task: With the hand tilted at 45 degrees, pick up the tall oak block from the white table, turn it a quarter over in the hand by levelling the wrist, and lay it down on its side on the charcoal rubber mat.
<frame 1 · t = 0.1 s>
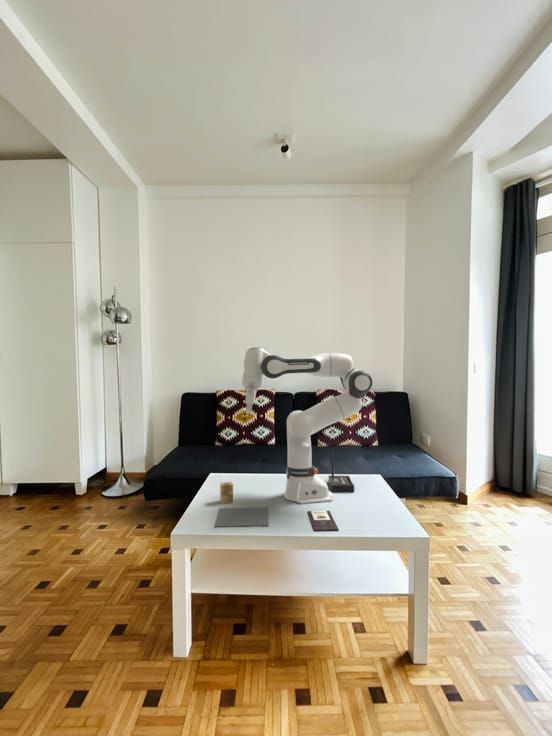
hand: (248, 412, 176), 39 cm above the table, tool pointing down, fingers open, 8 cm apart
charcoal mat: (242, 517, 153), on the table
oak block: (226, 501, 171), on the table
chocolate bar: (322, 522, 150), on the table
wireless controller: (340, 487, 193), on the table
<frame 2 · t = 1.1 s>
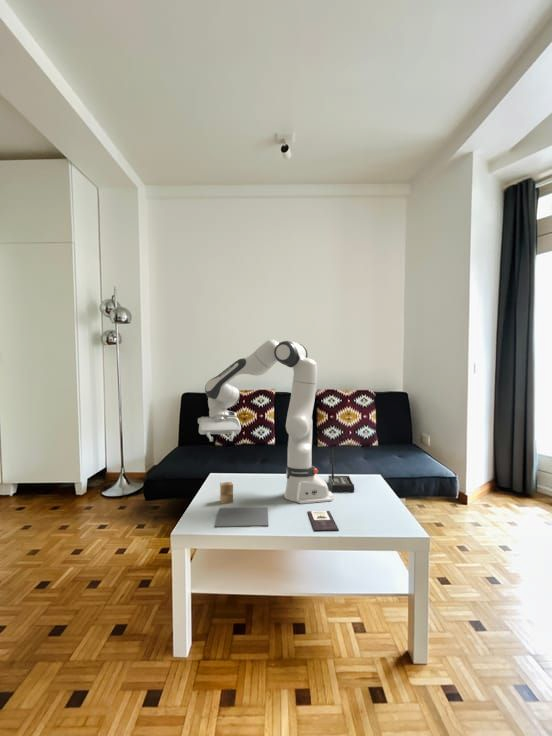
hand: (221, 440, 182), 25 cm above the table, tool tilted 45°, fingers open, 8 cm apart
nothing on the table moved.
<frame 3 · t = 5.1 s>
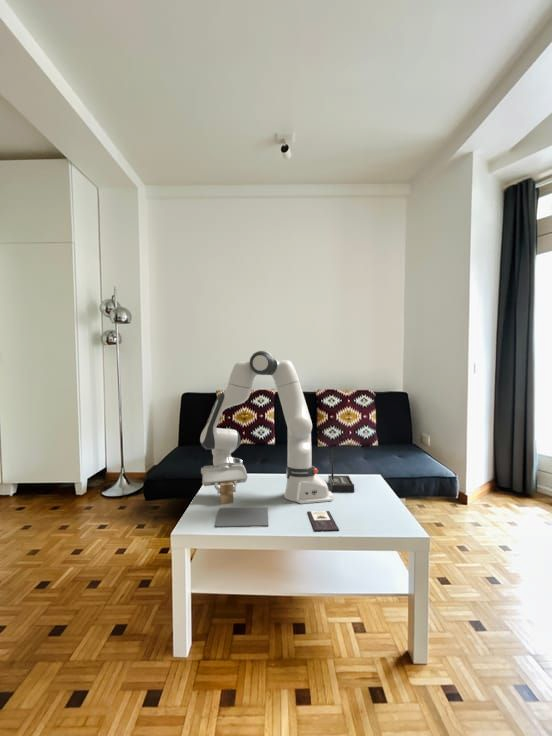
hand: (226, 492, 170), 4 cm above the table, tool tilted 45°, fingers closed on oak block, 5 cm apart
oak block: (226, 501, 171), on the table, touching gripper
everything else where it was.
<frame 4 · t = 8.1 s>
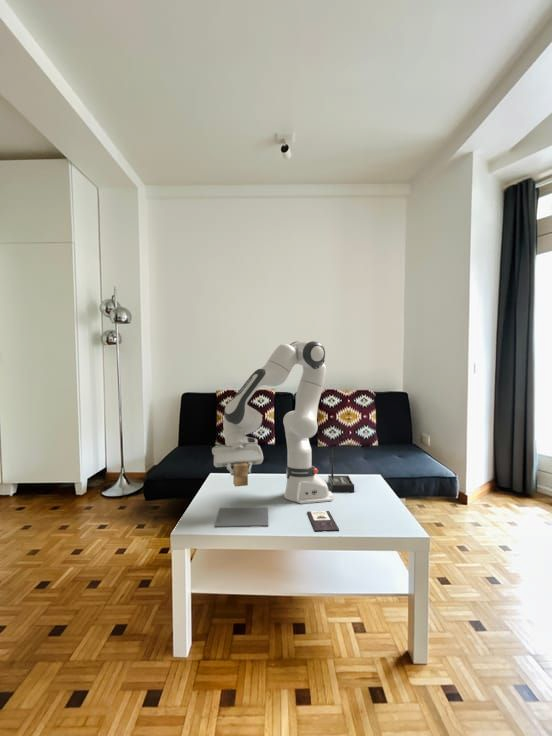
hand: (240, 473, 153), 17 cm above the table, tool tilted 45°, fingers closed on oak block, 5 cm apart
oak block: (240, 484, 154), point 13 cm above the table, touching gripper
everything else where it was.
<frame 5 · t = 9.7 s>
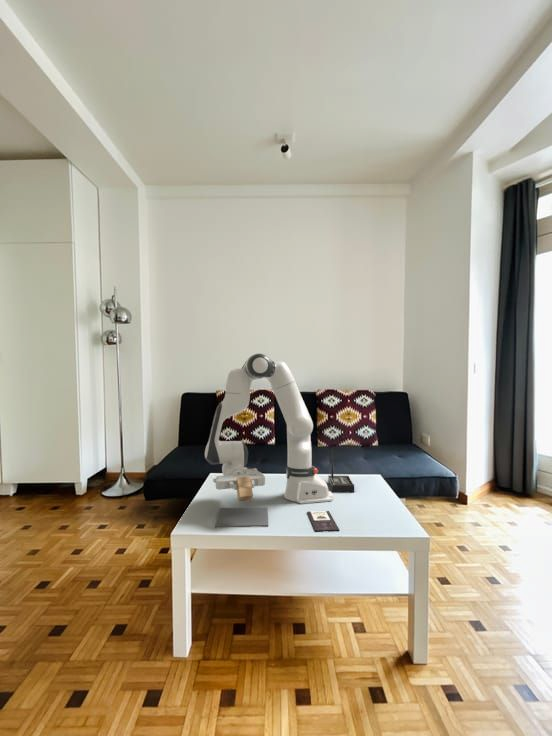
hand: (244, 487, 150), 13 cm above the table, tool horizontal, fingers closed on oak block, 5 cm apart
oak block: (245, 498, 147), point 10 cm above the table, tilted 45°, touching gripper
everything else where it was.
when the fingers open (8 cm above the table, at t = 11.1 s): oak block drops 2 cm and tips over, resting on charcoal mat.
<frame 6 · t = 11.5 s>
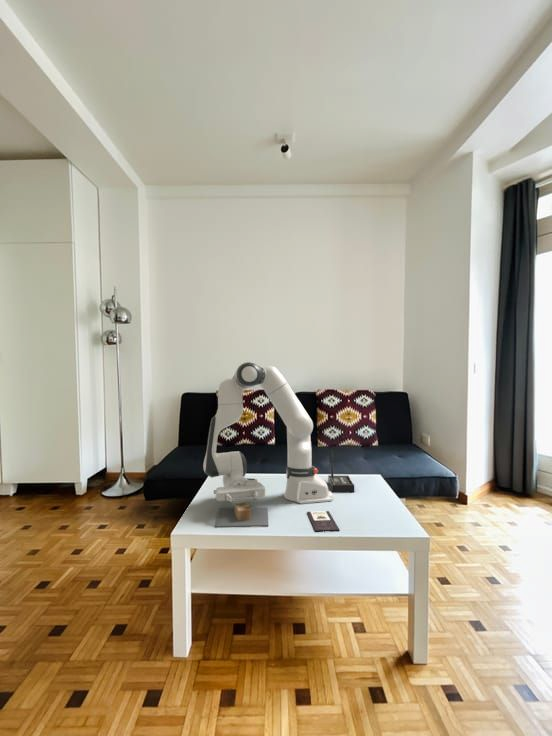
hand: (244, 498, 150), 8 cm above the table, tool horizontal, fingers open, 8 cm apart
oak block: (245, 515, 149), point 2 cm above the table, tilted 90°, touching charcoal mat
everything else where it was.
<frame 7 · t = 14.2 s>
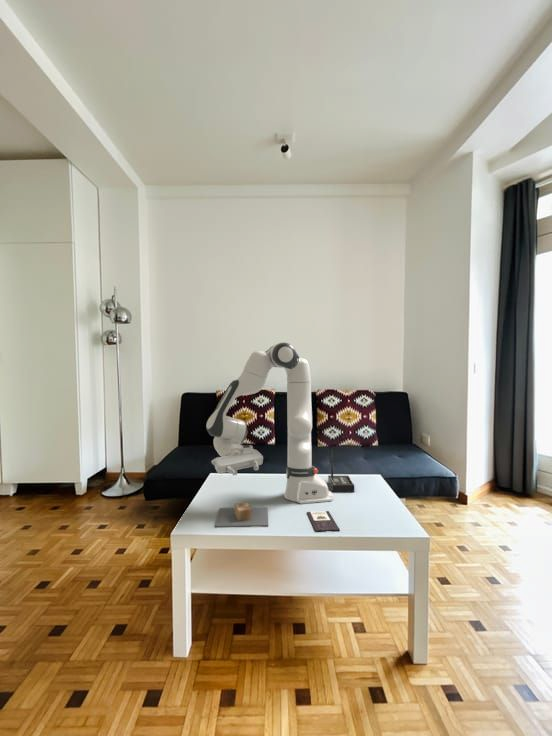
hand: (246, 470, 153), 18 cm above the table, tool horizontal, fingers open, 8 cm apart
nothing on the table moved.
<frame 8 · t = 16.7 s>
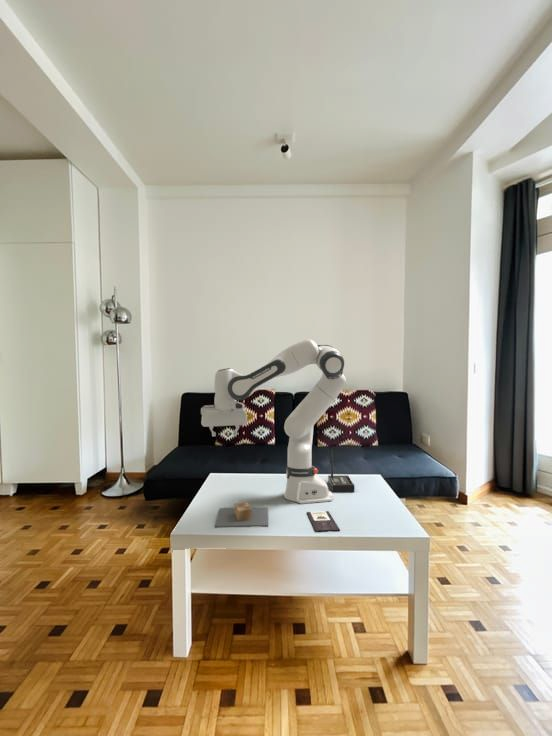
hand: (224, 435, 172), 29 cm above the table, tool pointing down, fingers open, 8 cm apart
nothing on the table moved.
at the end: oak block tilted 90°; oak block inside the target area on the charcoal mat (4.5 cm from its centre), point 2.5 cm above the charcoal mat's base; oak block touching charcoal mat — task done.
